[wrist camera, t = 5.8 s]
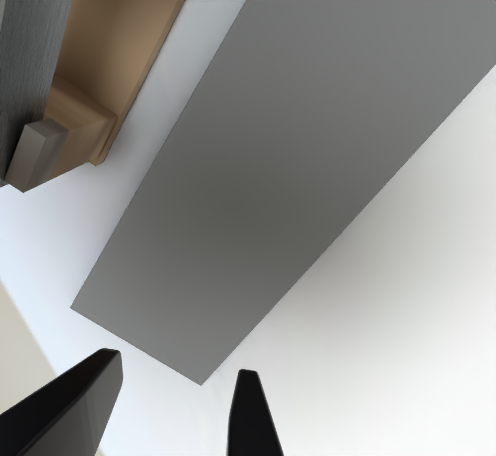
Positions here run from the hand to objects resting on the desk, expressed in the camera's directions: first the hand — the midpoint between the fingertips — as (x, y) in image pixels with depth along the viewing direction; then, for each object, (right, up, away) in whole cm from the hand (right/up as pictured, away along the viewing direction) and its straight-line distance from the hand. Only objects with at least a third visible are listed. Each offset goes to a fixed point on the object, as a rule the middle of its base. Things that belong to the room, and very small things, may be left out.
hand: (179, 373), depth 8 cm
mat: (+2, +5, +11) cm, 13 cm away
